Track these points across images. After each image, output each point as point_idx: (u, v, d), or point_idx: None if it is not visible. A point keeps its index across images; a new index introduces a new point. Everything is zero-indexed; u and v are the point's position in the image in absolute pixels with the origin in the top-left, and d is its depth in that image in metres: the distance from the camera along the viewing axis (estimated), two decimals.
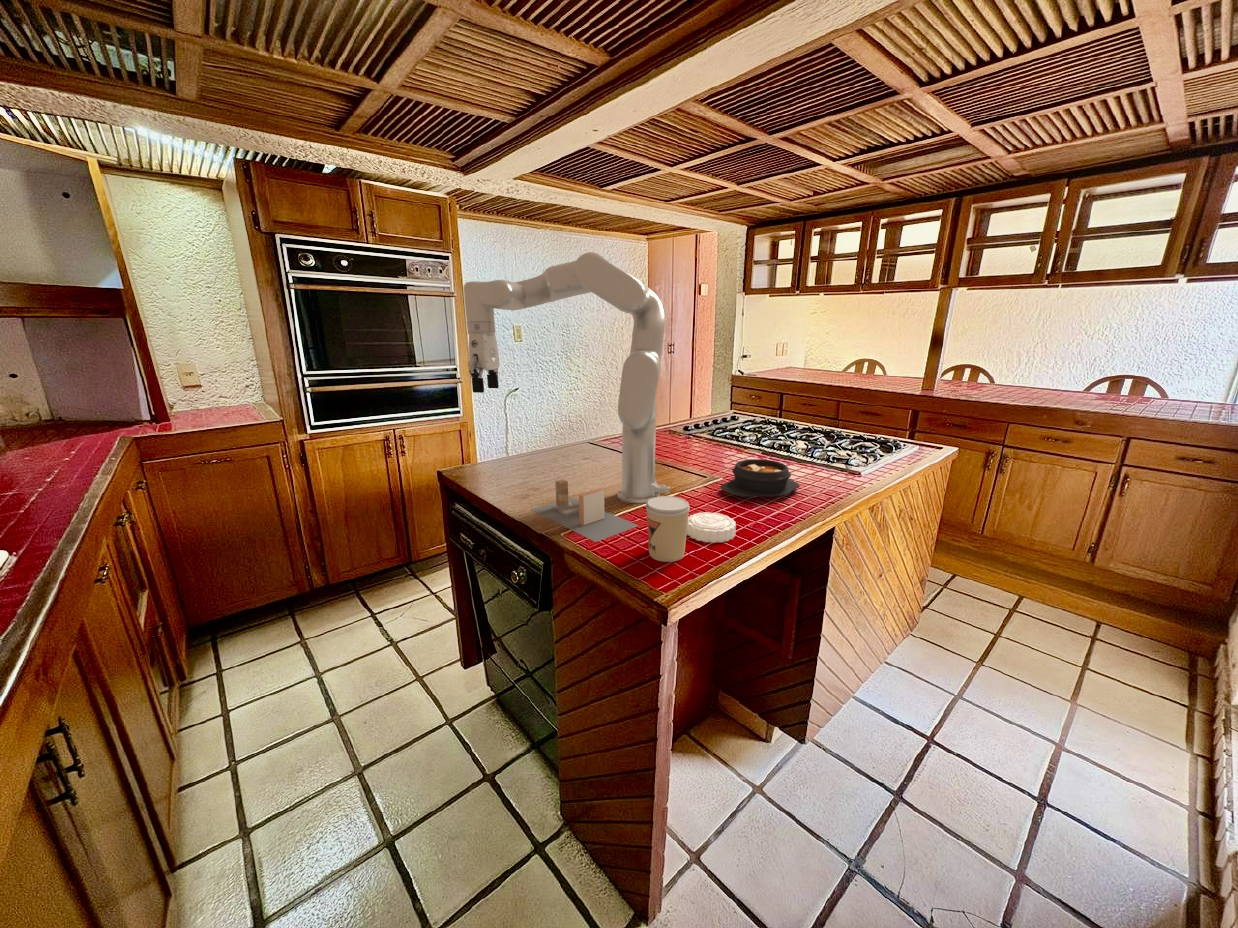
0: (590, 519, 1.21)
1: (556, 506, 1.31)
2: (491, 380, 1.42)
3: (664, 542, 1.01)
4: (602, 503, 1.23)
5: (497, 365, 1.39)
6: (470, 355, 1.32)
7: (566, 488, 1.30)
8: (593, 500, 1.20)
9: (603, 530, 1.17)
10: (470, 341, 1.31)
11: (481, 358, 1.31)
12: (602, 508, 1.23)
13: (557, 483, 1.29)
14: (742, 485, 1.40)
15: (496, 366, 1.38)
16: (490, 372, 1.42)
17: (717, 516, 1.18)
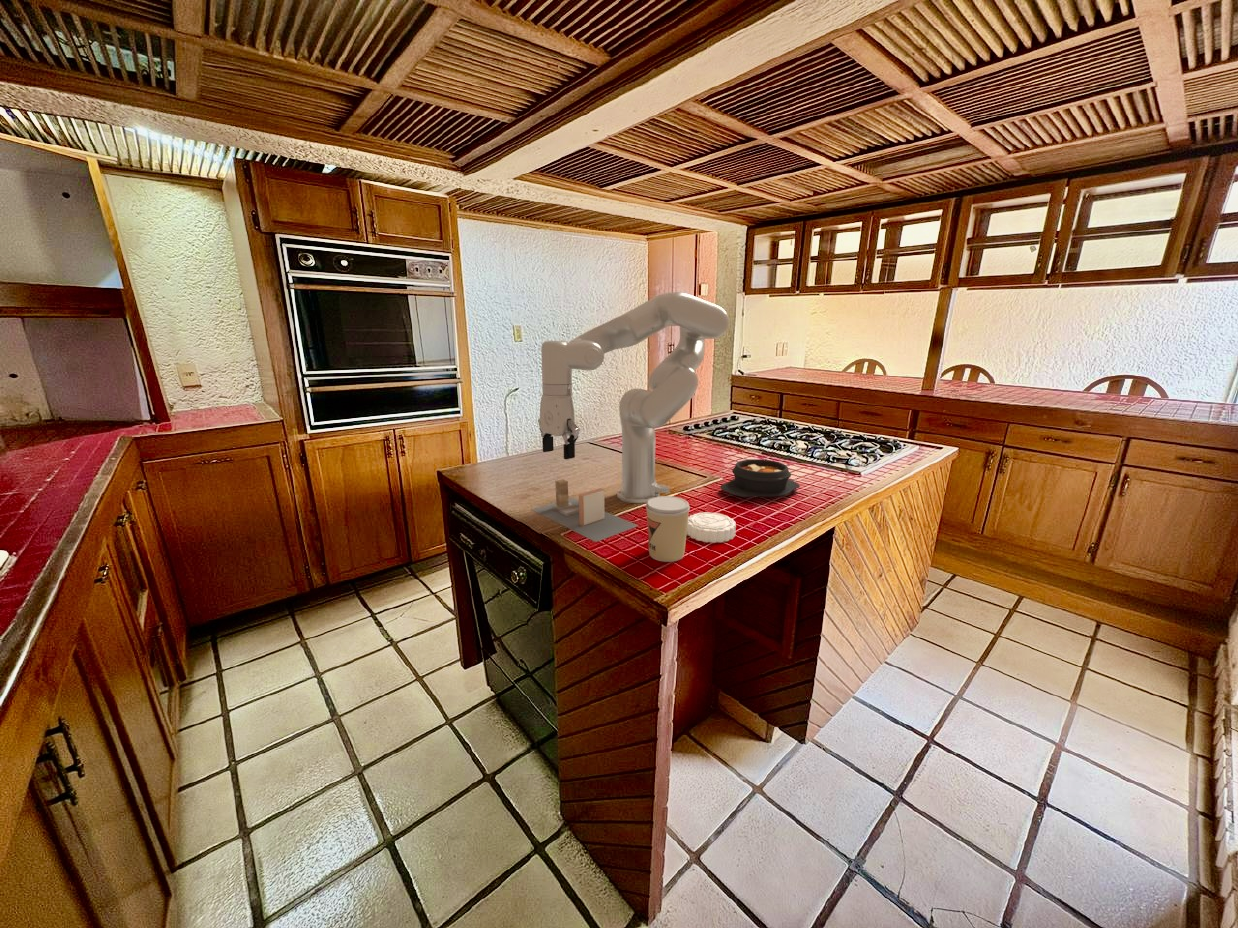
0: (590, 519, 1.21)
1: (556, 506, 1.31)
2: None
3: (664, 542, 1.01)
4: (602, 503, 1.23)
5: (555, 432, 1.22)
6: None
7: (566, 488, 1.30)
8: (593, 500, 1.20)
9: (603, 530, 1.17)
10: None
11: None
12: (602, 508, 1.23)
13: (557, 483, 1.29)
14: (742, 485, 1.40)
15: (553, 433, 1.23)
16: None
17: (717, 516, 1.18)
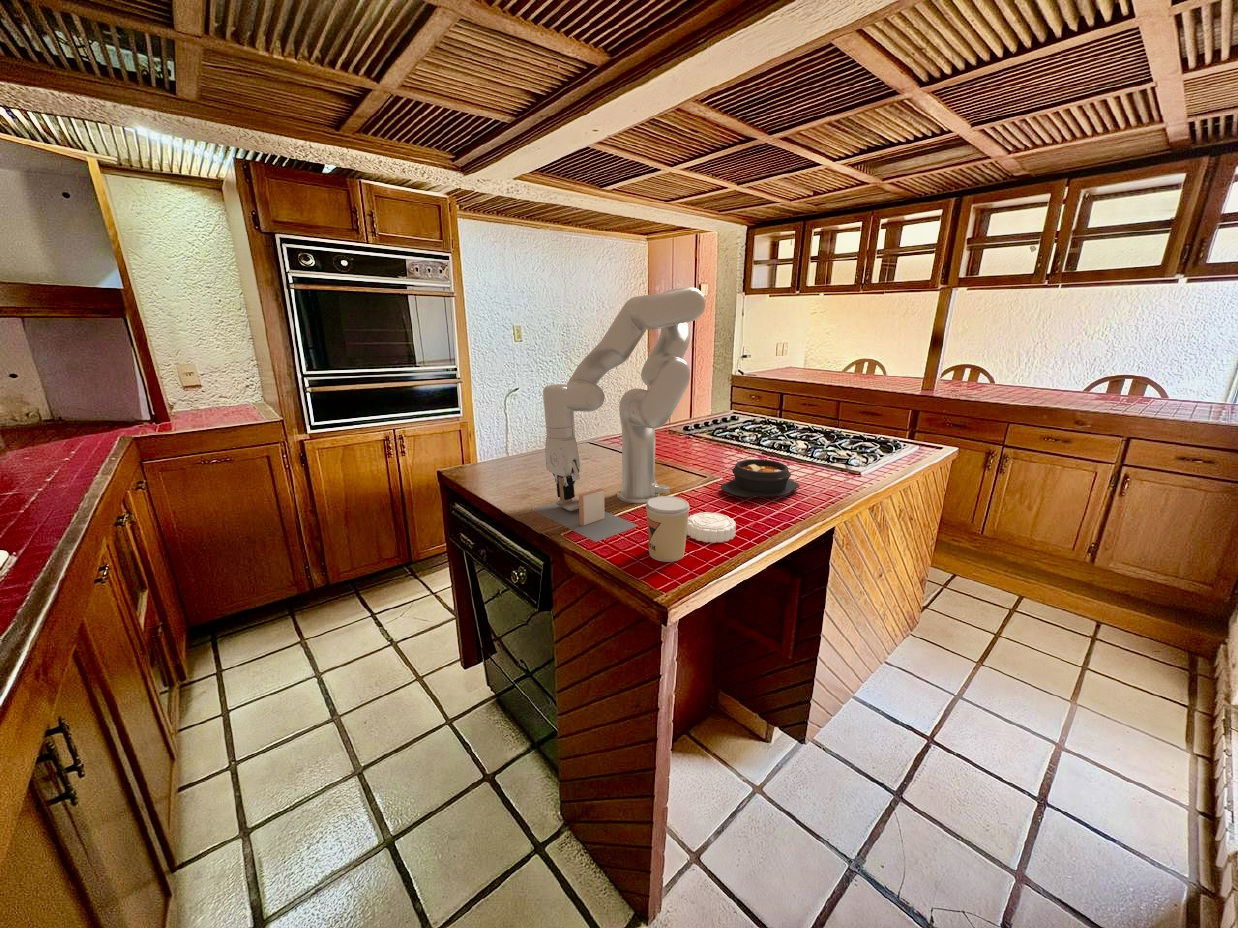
0: (590, 519, 1.21)
1: (560, 502, 1.31)
2: None
3: (664, 542, 1.01)
4: (602, 503, 1.23)
5: (561, 473, 1.26)
6: None
7: None
8: (593, 500, 1.20)
9: (603, 530, 1.17)
10: None
11: None
12: (602, 508, 1.23)
13: (560, 479, 1.29)
14: (742, 485, 1.40)
15: (559, 473, 1.26)
16: None
17: (717, 516, 1.18)
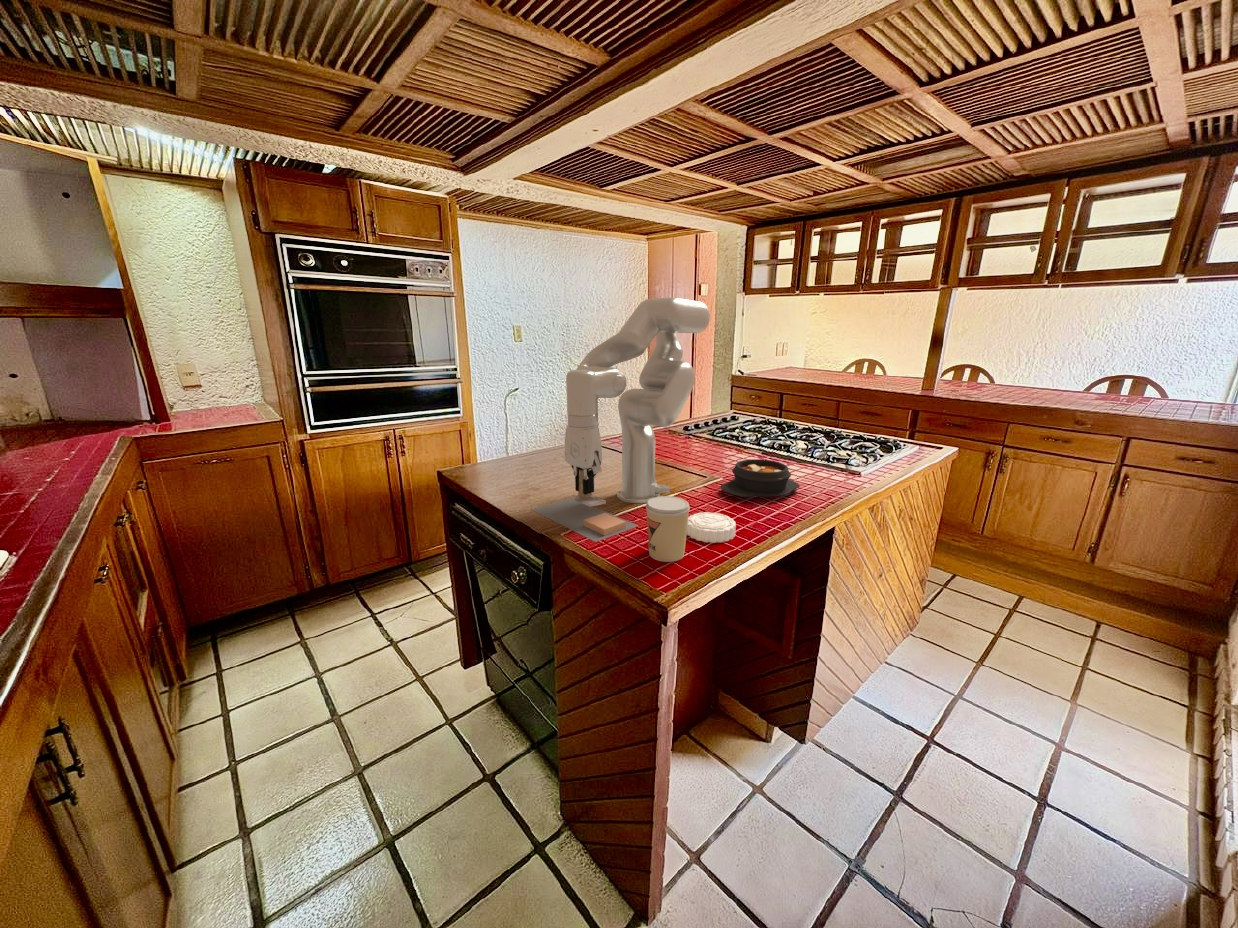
0: None
1: (578, 497, 1.22)
2: None
3: (664, 542, 1.01)
4: None
5: (581, 465, 1.17)
6: None
7: None
8: None
9: None
10: None
11: None
12: None
13: (581, 472, 1.21)
14: (742, 485, 1.40)
15: (580, 465, 1.17)
16: None
17: (717, 516, 1.18)
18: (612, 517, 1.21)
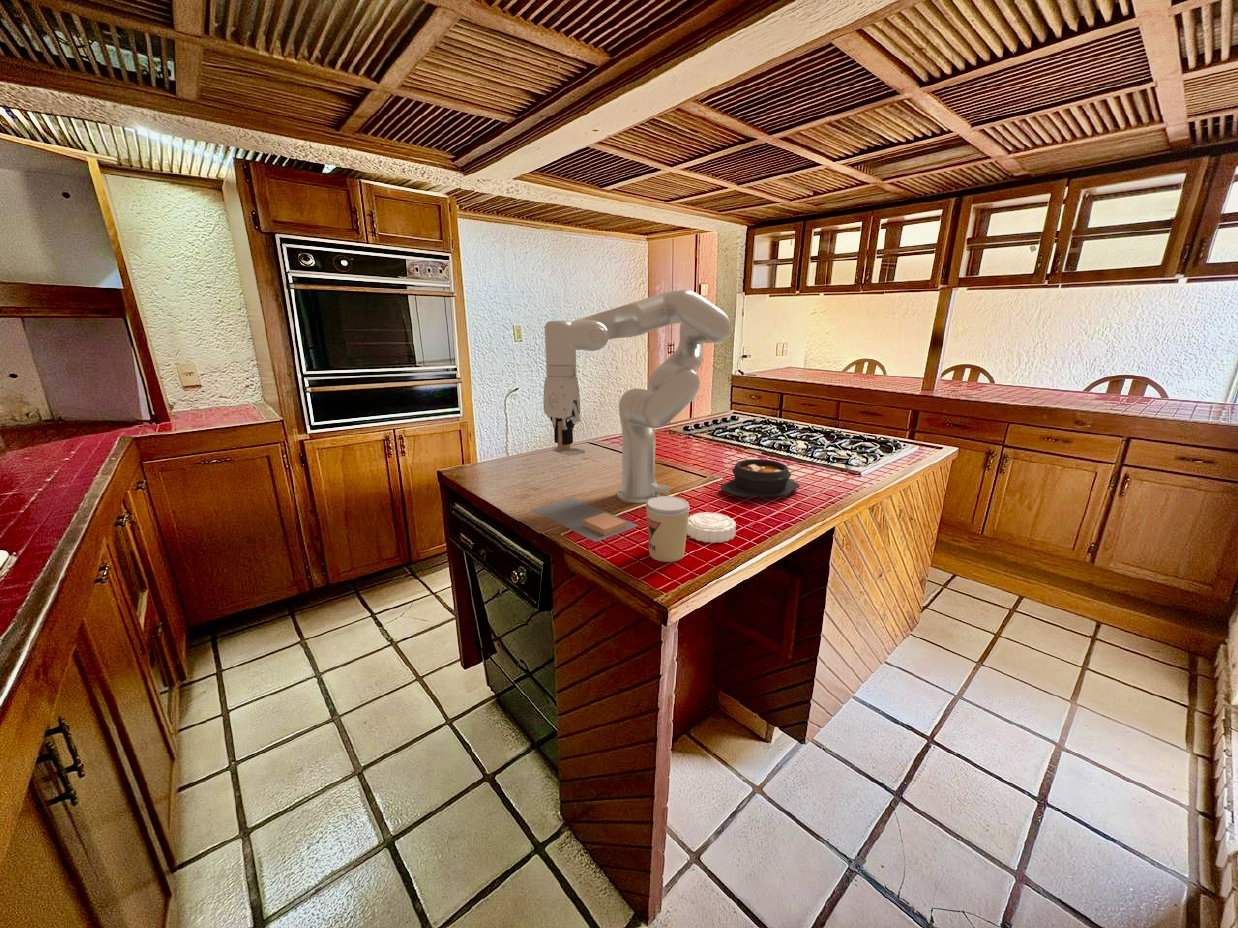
0: None
1: (557, 448, 1.25)
2: None
3: (664, 542, 1.01)
4: None
5: (560, 415, 1.19)
6: None
7: None
8: None
9: None
10: None
11: None
12: None
13: (560, 423, 1.24)
14: (742, 485, 1.40)
15: (559, 415, 1.20)
16: None
17: (717, 516, 1.18)
18: (612, 517, 1.21)
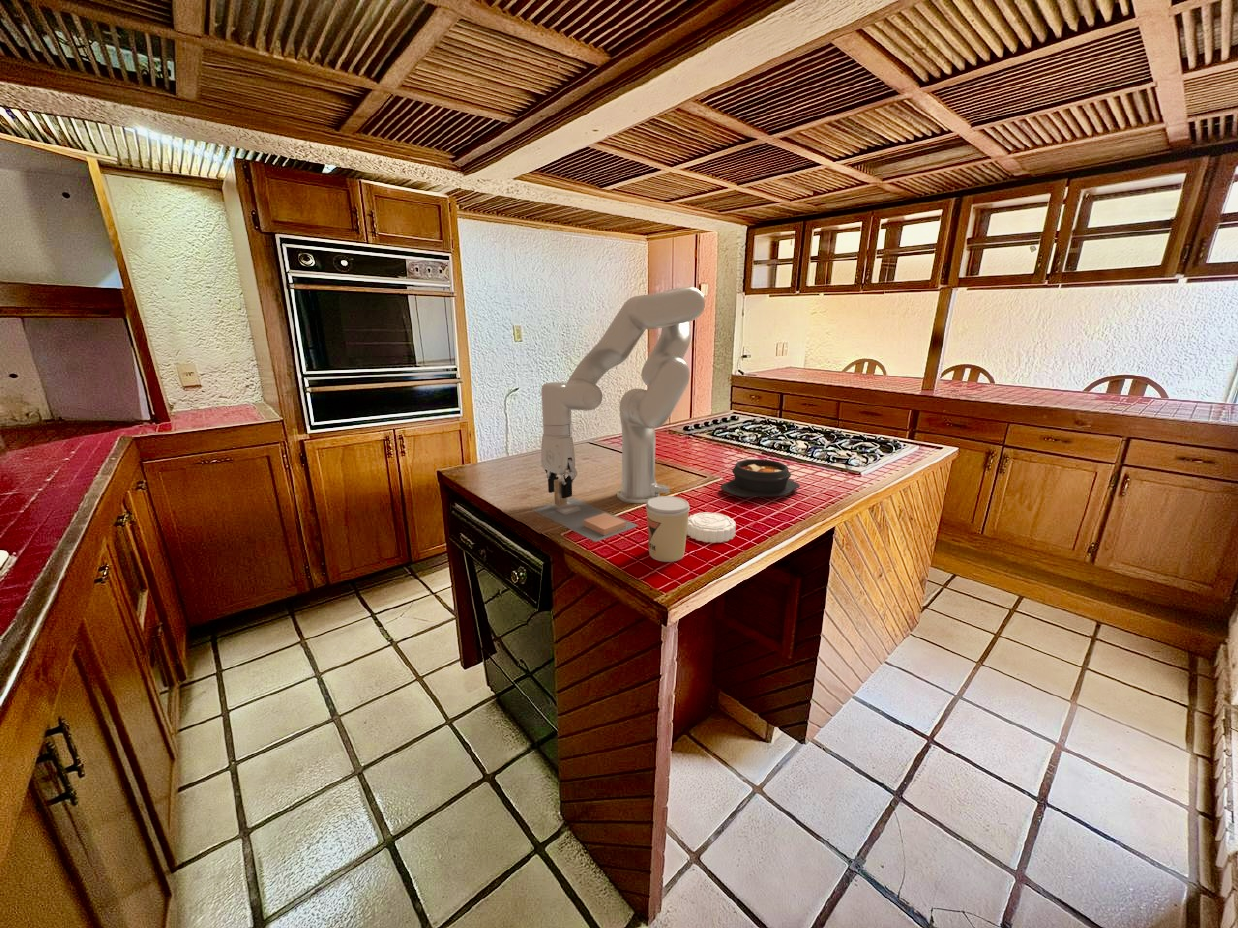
0: None
1: (555, 505, 1.32)
2: None
3: (664, 542, 1.01)
4: None
5: (556, 471, 1.26)
6: None
7: None
8: None
9: None
10: None
11: None
12: None
13: (556, 482, 1.30)
14: (742, 485, 1.40)
15: (554, 471, 1.26)
16: None
17: (717, 516, 1.18)
18: (612, 517, 1.21)
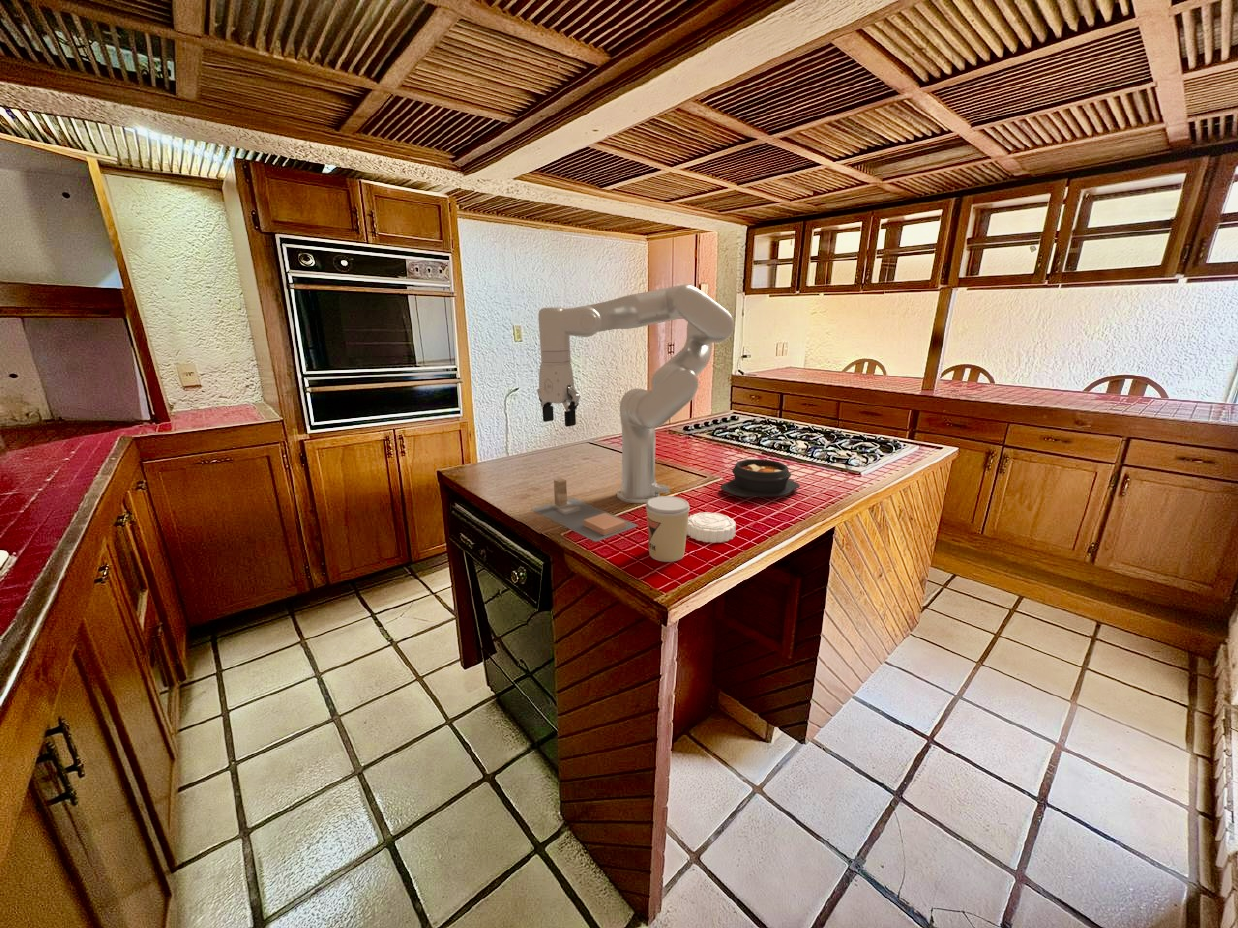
0: None
1: (555, 505, 1.32)
2: None
3: (664, 542, 1.01)
4: None
5: (555, 400, 1.22)
6: None
7: (564, 487, 1.31)
8: None
9: None
10: None
11: None
12: None
13: (556, 482, 1.30)
14: (742, 485, 1.40)
15: (553, 400, 1.23)
16: None
17: (717, 516, 1.18)
18: (612, 517, 1.21)
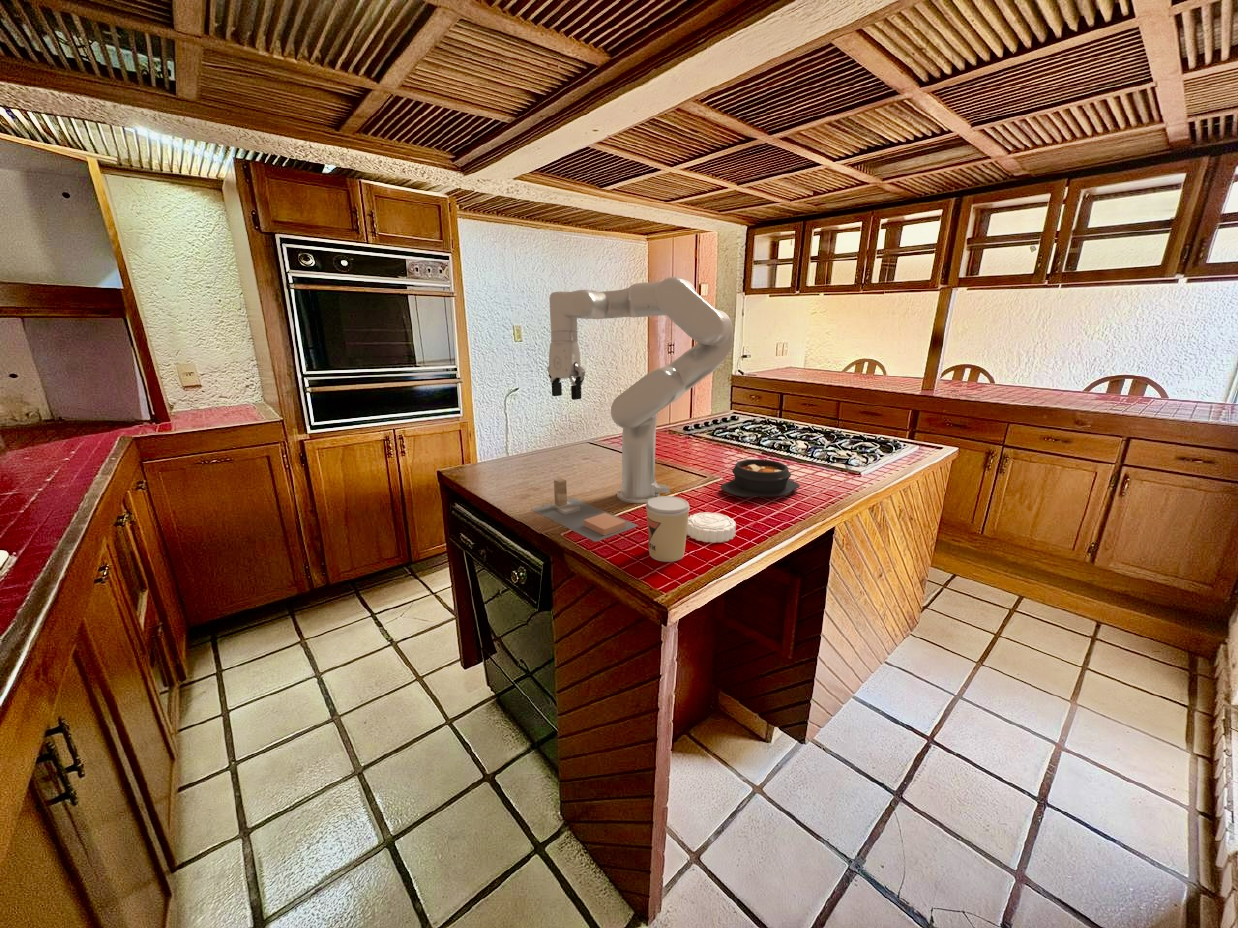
0: None
1: (555, 505, 1.32)
2: None
3: (664, 542, 1.01)
4: None
5: (563, 375, 1.36)
6: None
7: (564, 487, 1.31)
8: None
9: None
10: None
11: None
12: None
13: (556, 482, 1.30)
14: (742, 485, 1.40)
15: (561, 375, 1.36)
16: None
17: (717, 516, 1.18)
18: (612, 517, 1.21)
